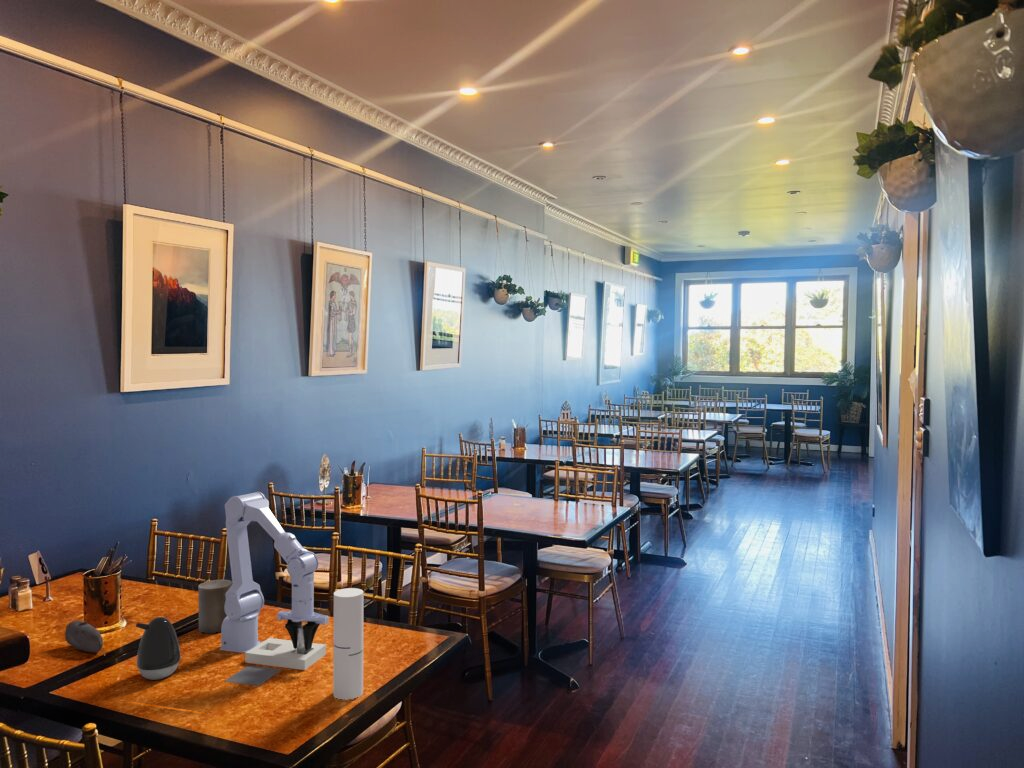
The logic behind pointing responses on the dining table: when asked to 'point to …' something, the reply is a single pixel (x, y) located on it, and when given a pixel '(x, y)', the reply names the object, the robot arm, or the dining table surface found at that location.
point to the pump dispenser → (158, 649)
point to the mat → (253, 675)
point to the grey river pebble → (83, 636)
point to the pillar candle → (212, 605)
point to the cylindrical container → (348, 643)
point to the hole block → (284, 654)
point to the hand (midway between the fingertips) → (302, 648)
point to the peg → (301, 641)
